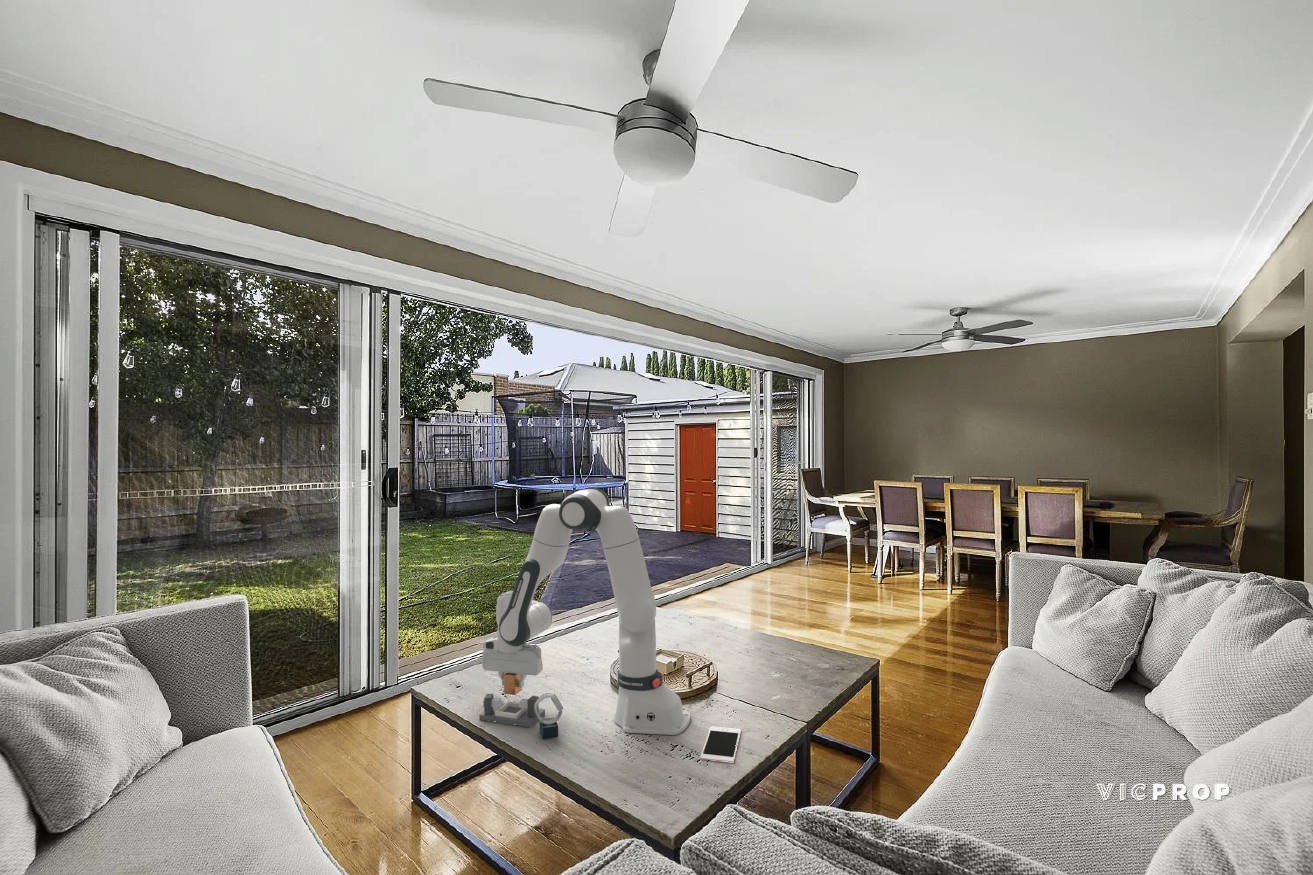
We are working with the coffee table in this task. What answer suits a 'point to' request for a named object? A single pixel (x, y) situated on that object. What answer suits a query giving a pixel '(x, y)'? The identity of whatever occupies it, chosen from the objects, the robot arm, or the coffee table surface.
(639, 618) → the robot arm
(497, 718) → the stand
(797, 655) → the coffee table surface
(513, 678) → the block
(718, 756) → the cell phone
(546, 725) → the watch
